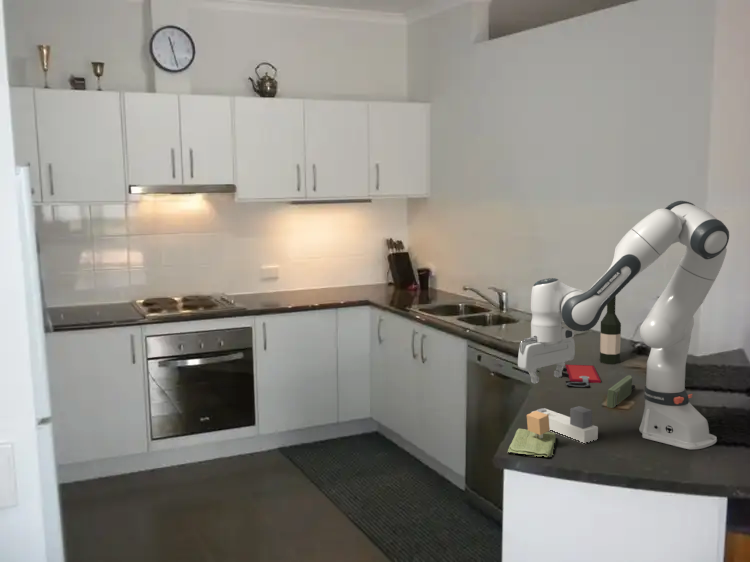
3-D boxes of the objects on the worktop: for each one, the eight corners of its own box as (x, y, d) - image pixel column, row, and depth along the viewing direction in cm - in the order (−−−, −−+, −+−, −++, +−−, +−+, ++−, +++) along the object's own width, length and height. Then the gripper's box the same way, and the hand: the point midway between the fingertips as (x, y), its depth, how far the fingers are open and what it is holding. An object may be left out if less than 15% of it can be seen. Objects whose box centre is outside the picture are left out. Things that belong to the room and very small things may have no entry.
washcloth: (506, 457, 217) (506, 446, 217) (515, 436, 234) (515, 426, 233) (552, 461, 213) (552, 451, 212) (558, 440, 229) (558, 430, 229)
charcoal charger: (591, 432, 228) (592, 410, 227) (582, 435, 226) (583, 412, 225) (578, 427, 232) (579, 405, 231) (570, 430, 230) (570, 408, 229)
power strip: (597, 439, 228) (598, 424, 227) (584, 443, 224) (584, 429, 224) (544, 419, 246) (544, 406, 245) (531, 423, 242) (531, 410, 242)
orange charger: (550, 437, 223) (548, 415, 221) (540, 441, 221) (539, 419, 219) (537, 432, 227) (536, 410, 225) (528, 436, 225) (526, 414, 223)
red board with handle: (561, 388, 280) (603, 389, 278) (561, 380, 280) (603, 382, 277) (555, 367, 309) (593, 368, 307) (556, 360, 309) (593, 362, 306)
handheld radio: (604, 407, 257) (628, 388, 277) (614, 409, 255) (637, 390, 275) (606, 388, 256) (629, 371, 276) (615, 390, 254) (638, 373, 274)
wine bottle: (622, 360, 315) (624, 290, 310) (617, 365, 308) (619, 293, 303) (602, 358, 320) (604, 289, 315) (596, 362, 313) (598, 292, 308)
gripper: (528, 341, 211) (528, 388, 213) (578, 330, 222) (578, 375, 224) (512, 337, 216) (513, 383, 218) (562, 327, 227) (562, 371, 229)
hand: (546, 379), depth 221 cm, fingers open, 8 cm apart
